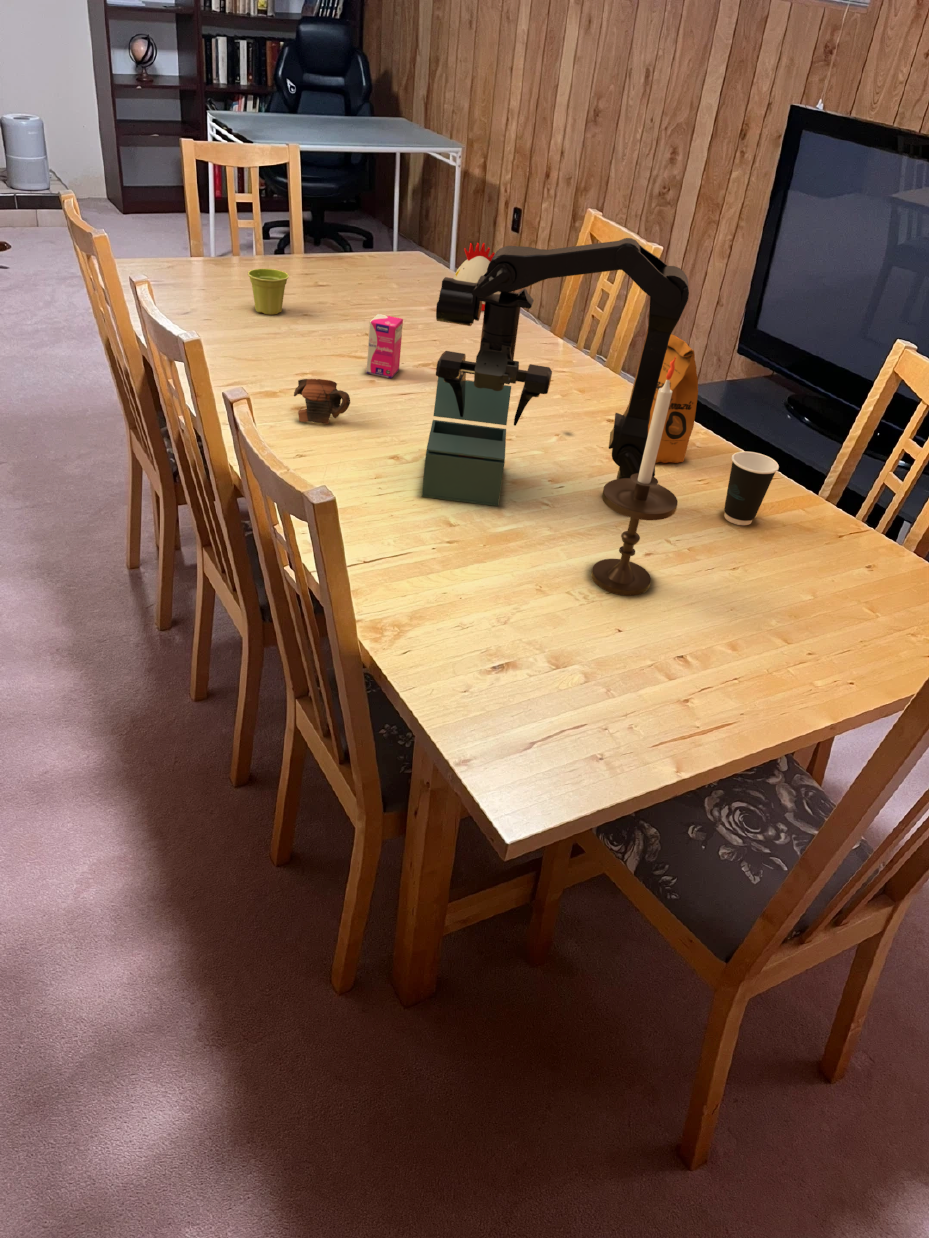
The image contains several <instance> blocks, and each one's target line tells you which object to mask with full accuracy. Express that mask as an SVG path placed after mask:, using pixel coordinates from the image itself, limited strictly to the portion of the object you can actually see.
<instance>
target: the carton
mask: <svg viewBox="0 0 929 1238" xmlns="http://www.w3.org/2000/svg"><path fill="white" fill-rule="evenodd" d="M506 439H507V428H502V427H495V426H494V427H493V426H487V425H486V426H485V425H480V424H479V425H478V424H469V423H461V422H455V421H446V420H439V419H432V422H431V427H430V431H429V436H428V440H427V445H426V451H425V458H424V467H423V477H422V478H423V480H422V487H421V489H422V490H421V497H422V498H431V499H438V500H446V501H453V502H463V503H469V504H478V505H485V506H494V507H499V503H500V498H501V497H500V496H501V490H502V483H503V476H504V469H505V462H506V445H507V441H506ZM459 455H463V456H471V457H479V458H484V459H476V458H468V457H460V456H459Z"/></svg>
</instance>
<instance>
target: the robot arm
mask: <svg viewBox="0 0 929 1238" xmlns="http://www.w3.org/2000/svg"><path fill="white" fill-rule="evenodd" d="M494 253H495V255H494V256H493V258H492V260H491V261H490V263H489V265H488V268H487V272H486V273H485V274H484V275H483V276H481V277H480V279H479V280H478V282H477V283H472V282H466V281H459V280H455V279H453V278H454V277H447V276H445V277H444V278H443V279H442V281H441V288H440V290H439V296H438V300H437V302H436V307H435V308H436V309H435V319H436V322H440V323H447V324H452V325H453V324H454V325H460V326H466V327H472V325H473V324H475V323H474V322H475V321H477V322H479V321H480V319H481V313H482V311H481V309H482V301H483V302H485V308H484V311H483V316H482V317H483V318H482V325H481V326H482V327H481V335H480V345H479V351H478V352H477V354H476V356H475V361H470V360H466V357H467V356H466V353H462V352H457V351H450V350H445V351H444V352H442V353H441V355H440V357H439V358H438V360H437V363H436V369H435V376H436V377H437V378H438V377H441V378H444V379H443V380H444V382H446V383H449V384H450V385H451V387H452V388H453V391H454V393H455V396H456V400H457V405H458V409H459V413H460V416H461V417H463V415H464V409H465V387H466V380H467V374H471V375H473V376H474V377H473V378H474V379H473V381H474V386H475V387H477V388H481V389H482V388H487V389H493V390H494V391H501V390H502V389H503V388H504V385H510V384H515V385H516V384H517V382H519V383H524V384H523V387H522V390H521V392H520V397H519V400H518V404H517V408H516V411H515V415H514V419H513V426H514V427H516V426H517V424H518V422H519V420H520V418H521V416H522V414H523V412H524V410H525V408H526V406H527V405H528V404H529V402H530V401H531V400H532V398H539V397H540V396H541V395H547V394H549V389H550V387H551V381H552V375H553V370H552V369H551V367H549V366H543V365H539V364H538V365H537V364H532V363H529V364H528V368H527V370H525V369H520V361H518V360H514V359H515V351H516V345H517V344H516V343H517V339H518V338H517V336H518V329H519V323H520V322H519V321H520V314H521V308H522V309H526V310H527V309H532V307H533V304H534V301H535V299H534V298H533V297H532V296H531V295H530V294H529V292H528V290H527V288H528V287H530V286H533V285H535V284H538V283H540V282H542V281H545V280H550V279H556V278H564V277H573V276H580V275H581V276H582V275H588V274H589V275H590V274H598V273H606V272H613V271H615V272H616V271H622V272H623V273H625V274H626V275H627V276H628V277H629V279H631V280H632V281H633V282H634V283H635V285H637V287H638V288H640V290H642V291H643V292H644V293H645V294H646V295H648V297H649V305H648V321H647V328H646V332H645V337H644V340H643V345H642V348H641V353H640V356H639V360H638V365H637V369H636V372H635V377H634V381H633V385H632V389H631V393H630V397H629V402H628V404H627V407H626V409H625V411H624V413H623V414H621V413H619V412H615V413H614V422H613V428H612V429H611V431H610V433H609V442H608V449H609V450H611V458H612V459H611V460H612V461H613V462H614V464H615V465H616V466H618V471H617V475H616V479H623V478H631V475H632V474H636V473H639V471H640V467H641V463H642V459H643V454H644V450H645V446H646V441H647V437H648V424H649V415H650V411H651V407H652V403H653V399H654V396H655V392H656V388H657V384H658V380H659V377H660V373H661V369H662V365H663V361H664V358H665V354H666V350H667V346H668V342H669V339H670V335H671V334H673V332H674V330H675V328H676V326H677V324H678V323H679V321H680V319H681V317H682V315H683V313H684V310H685V308H686V306H687V303H688V302H689V296H690V289H689V279H688V276H687V274H686V273H685V271H684V270H683V269H681V268H680V267H678V266H676V265H668V264H666V262H664V261H663V260H662V259H661V258H660V257H658V256H657V255H655V254H653V253H652V252H650V251H649V250H647V249H646V248H644V247H643V246H642V245H641V244H640V243H639V241H637V240H636V239H634V238H632V237H625V238H622V239H620V240H614V241H613V240H612V241H606V242H597V243H590V244H583V245H581V244H580V245H574V246H566V247H558V248H551V249H550V248H549V249H543V248H536V247H532V246H520V245H505V246H503V247H500V248H499V249H498V250H497V251H496V252H494ZM519 290H521V291H519ZM498 291H499V292H501V293H500V294H494V293H496V292H498ZM516 291H519V292H516ZM652 476H653V477H655V476H656V464H655V465H654V470H653V474H652Z"/></svg>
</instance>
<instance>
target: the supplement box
mask: <svg viewBox="0 0 929 1238" xmlns="http://www.w3.org/2000/svg"><path fill="white" fill-rule="evenodd" d="M403 326H404V318H400V317H396V316H391V315H387V314H381V313H377V314H376V315H375V316H374V317H373V318H372V319H371V320H370V321H369V325H368V341H367V354H366V355H367V356H366V372H365V373H366V374H368V375H372V376H378V377H383V378H387V379H393V377H394V376H395V375H396V374H397V373H398V372H399V371H400V362H401V351H402V349H401V348H402V339H403Z"/></svg>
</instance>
